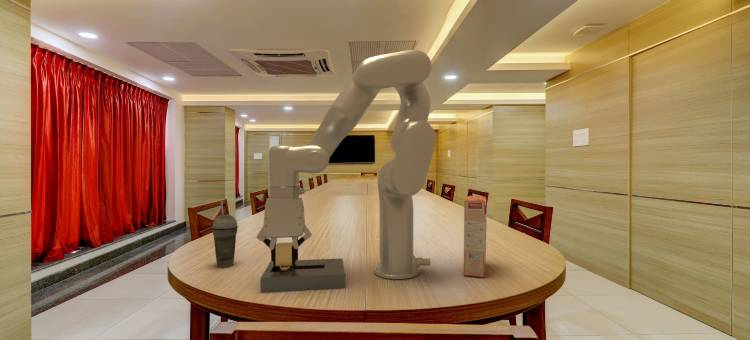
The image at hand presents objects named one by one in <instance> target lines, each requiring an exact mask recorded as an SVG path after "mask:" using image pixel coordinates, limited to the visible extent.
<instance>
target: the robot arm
mask: <svg viewBox="0 0 750 340" xmlns="http://www.w3.org/2000/svg"><path fill="white" fill-rule="evenodd" d="M431 72H432V61H431V59H430V57H429V55H428V54H427V53H425V52H424V51H422V50H419V49H408V50H407V49H406V50H402V51H398V52H389V53H386V54H385V53H384V54H377V55H374V56H370V57H367V58H364V59H363V60H362V61H361V62H360V63H359V65H358V67H357V68H356V70H355V71H354V73H353V74H352V75H351V77H350V78H349V80H348V81H347V82H346V84H345V85H344V87H343V88H342V89H341V91H340V93H339V94H338V95H337V97H336V98H335V100H334V101H333V102H332V104H331V105H330V107H329V108H328V110H327V111H326V113H325V115H324V118H323V120H322V121H321V123H320V125H319V126H318V128H317V129H316V130H315V132H314V134H313V135H312V137H311V138H310V139H309V141H308V142H307V144H306V145H297V146H295V145H273V146H271V147H270V148H269V150H268V198H266V200H265V201H266V202H265V205H264V214H263V215H264V216H263V226H262V227H261V229H260V231H259V232H258V233H257V235H256V240H259V242H262V243H264V245H265V246H267V247H268V248H269V250H270V262H271V261H273V265H276V245H277V243H278V242H277V241H278V239H280V238H282V239H284V238H291V241H292V242H293V248H292V264H295V262H296V260H299V247H300V246H301V245H303V243H304V242H305V241H307V240H309V239H310V238H312V235H313V234H312V232H311V231H310V229H309V228H308V227H307V225H306V223H305V221H306V220H305V207H304V206H305V205H304V201H303V197H300V196H301V195H302V194H304V195H305V193H306V192H305V190H306V189H305V188H303V187H302V188H301V187H300V173H303V174H304V173H305V174H311V175H313V174H319V173H322V172H323V171H325V170H326V168H327V167H328V166H329V163H330V158H331V156H332V155H333V154H334V153H335V151H336V149H337V148H338V146H339V145H340V143H341V142H342V141H343V140H344V139H345V138H346V137H347V136H348V135H349V134H350V133H351V132H352V131H353V130H354V129H355V128H356V126H357V125H358V123H359V122H360V121H361V119H362V118H363V117H364V115H365V113H366V112H367V110H368V109H369V107H371V105H372V103H373V102H374V100H375V98H376V97H377V95H379V93H380V91H382V90H383V89H391V88H394V89H395V91H396V92H397V94H398V95H399V101H400V106H399V110H398V114H397V118H396V122H395V125H394V128H393V131H392V133H391V139H390V146H391V149H392V150H393V152H394V153H395V155H394V159H393V160H389V161H387V162H384V164H383V165H382V166H381V167H380V169H379V172H378V174H377V190H378V200H379V201H378V202H379V204H378V205H379V264H376V265H375V266H374V268H373V269H374V271H373V272H374V274H375V275H376V276H378V277H380V278H384V279H389V280H406V279H411V278H414V277H417V276H418V275H419V273H420V266H423V267H424V266H425V267H426V266H429V267H430V266H431V259H430V258H424V257H421V256H420V257H416V256H415V255H414V201H413V196H415V195H417V194H418V193H419V192H420V191H421V190H422V189H423V186H424V185H425V183H426V180H427V176H428V174H429V170H430V167H431V163H432V159H433V156H434V152H435V148H436V132H435V131H434V128H433V126H432V125H431V123H429V121H428V120H429V116H430V111H431V97H430V94H429V91H428V89H427V87H426V85H425V84H424V82H425V81H426V80H427V79H428V77H429V76H430V75H431ZM299 237H300V238H299Z"/></svg>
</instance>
